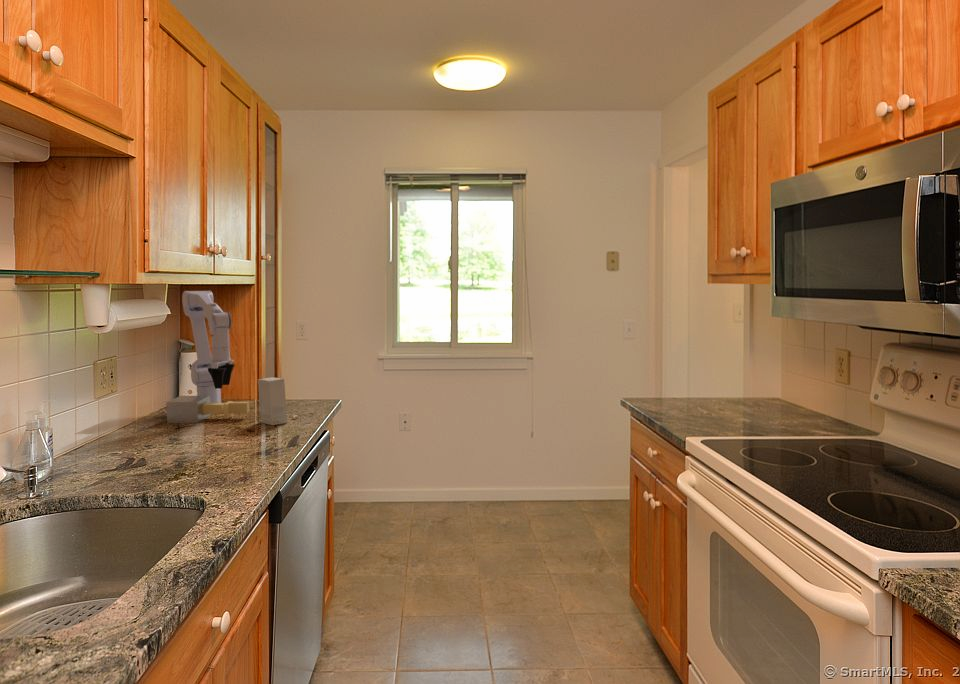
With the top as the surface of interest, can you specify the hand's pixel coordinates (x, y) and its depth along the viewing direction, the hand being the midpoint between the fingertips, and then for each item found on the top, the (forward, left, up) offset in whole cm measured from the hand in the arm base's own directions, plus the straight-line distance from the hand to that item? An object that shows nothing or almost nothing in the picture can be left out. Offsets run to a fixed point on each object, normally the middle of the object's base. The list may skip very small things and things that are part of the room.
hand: (222, 386), depth 227 cm
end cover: (+4, +2, -10) cm, 11 cm away
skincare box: (+12, +20, -11) cm, 26 cm away
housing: (+4, -10, -10) cm, 15 cm away
